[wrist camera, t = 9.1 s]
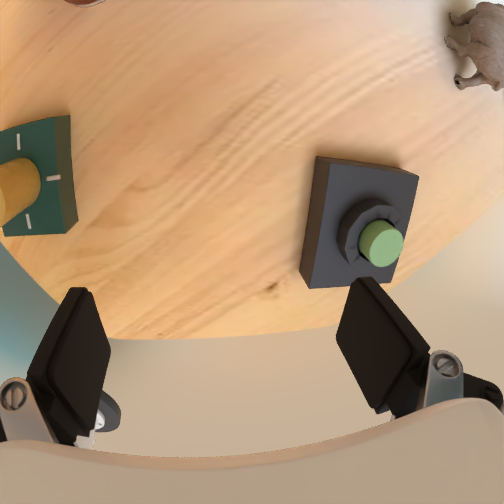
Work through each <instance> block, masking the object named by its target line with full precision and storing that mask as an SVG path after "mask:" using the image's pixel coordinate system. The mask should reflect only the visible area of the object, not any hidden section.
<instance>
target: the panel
mask: <svg viewBox="0 0 504 504" xmlns="http://www.w3.org/2000/svg"><path fill="white" fill-rule="evenodd" d="M17 158H27V159H29V160H31V161H32V162H33V163H34V164H35V166H36V167H37V169H38V171H39V175H40V180H41V187H40V192H39V195H38V197H37V199H36V201H35V202H34V203H33V204H32V205H30V206H29V207H27V208H26V209H24V210H23V211H22V212H20V213H19V214H18V215H16V216H15V217H13V218H12V219H11V220H9V221H8V222H7V223H6V224H4V225H3V226H2V228H3V232H4V236H5V237H8V236H25V235H44V234H65V233H67V232H68V231H69V230H70V229H71V228H72V227H73V226H74V225H75V224H76V222H77V221H78V216H77V209H76V202H75V194H74V185H73V175H72V162H71V143H70V115H68V116H57V117H51V118H47V119H43V120H39V121H35V122H31V123H27V124H23V125H20V126H16V127H13V128H10V129H6V130H3V131H0V165H2V164H4V163H7V162H9V161H12V160H15V159H17Z"/></svg>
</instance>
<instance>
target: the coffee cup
mask: <svg viewBox="0 0 504 504" xmlns="http://www.w3.org/2000/svg"><path fill="white" fill-rule="evenodd" d="M64 1H67V2H69V3H70V4H72V5H75V6H77V7H89V6H93V5H96V4H98V3H101V2H104V1H105V0H64Z"/></svg>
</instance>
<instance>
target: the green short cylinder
mask: <svg viewBox="0 0 504 504" xmlns="http://www.w3.org/2000/svg"><path fill="white" fill-rule="evenodd" d="M359 248H360V251H361V252H362V253H363V254H364V255H365V256H366V257H367V259H368V260H369V261H370V262H371V263H372V264H374V265H375V266H377V267H385V266H388V265H390V264H391V263H393V262H394V261H395V260H396V259H397V258H398V256H399V255H400V253H401V251H402V248H403V237H402V234H401V233H400V232H399V231H398V230H397V229H395V228H394V227H393V226H391V225H390V224H389V223H387V222H386V221H383V220H375V221H373V222H371V223H369V224H368V225H367V226H366V227H365V228H364V229H363V231H362V232H361V234H360V237H359Z"/></svg>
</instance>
